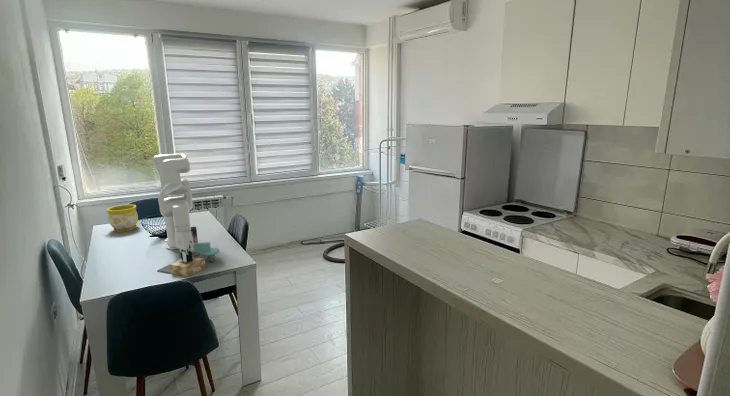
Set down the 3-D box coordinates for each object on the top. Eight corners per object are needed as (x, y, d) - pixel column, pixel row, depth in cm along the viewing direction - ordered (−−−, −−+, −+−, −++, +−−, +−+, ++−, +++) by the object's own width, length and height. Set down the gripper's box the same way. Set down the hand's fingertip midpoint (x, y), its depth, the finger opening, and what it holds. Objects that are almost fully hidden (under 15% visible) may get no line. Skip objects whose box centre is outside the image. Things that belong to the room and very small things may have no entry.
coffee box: (182, 257, 216) (179, 231, 212) (182, 254, 222) (178, 228, 218) (199, 254, 220) (196, 228, 216) (199, 251, 226) (195, 225, 222)
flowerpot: (136, 223, 283) (133, 203, 279) (142, 229, 270) (138, 207, 266) (108, 229, 271) (104, 207, 267) (113, 235, 258) (109, 212, 254)
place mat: (157, 271, 198) (157, 270, 198) (171, 264, 207) (170, 263, 206) (170, 273, 195) (169, 272, 195) (183, 266, 204) (183, 265, 203)
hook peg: (183, 271, 198) (180, 251, 196) (188, 268, 202) (185, 249, 199) (188, 272, 197) (185, 252, 194) (194, 269, 200) (191, 250, 198)
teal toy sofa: (221, 257, 216) (219, 239, 213) (218, 263, 207) (216, 244, 205) (193, 259, 214) (191, 241, 211) (189, 265, 205) (186, 247, 202)
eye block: (170, 273, 196) (169, 264, 195) (188, 264, 207) (187, 256, 206) (188, 276, 192) (187, 267, 191) (205, 267, 203) (204, 258, 201)
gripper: (166, 227, 195) (171, 259, 199) (185, 232, 186) (190, 266, 190) (180, 223, 201) (184, 255, 205) (199, 228, 192) (203, 261, 197)
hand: (187, 260), depth 198 cm, fingers closed on hook peg, 3 cm apart
